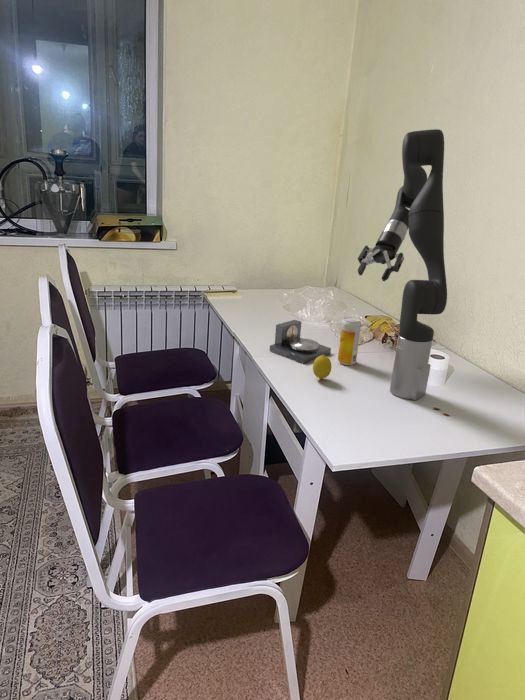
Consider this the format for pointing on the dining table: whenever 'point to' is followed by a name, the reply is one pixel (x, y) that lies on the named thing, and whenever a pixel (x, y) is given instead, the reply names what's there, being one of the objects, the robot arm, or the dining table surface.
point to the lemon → (322, 367)
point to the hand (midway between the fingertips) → (371, 277)
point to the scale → (288, 333)
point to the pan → (304, 344)
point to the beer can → (349, 340)
